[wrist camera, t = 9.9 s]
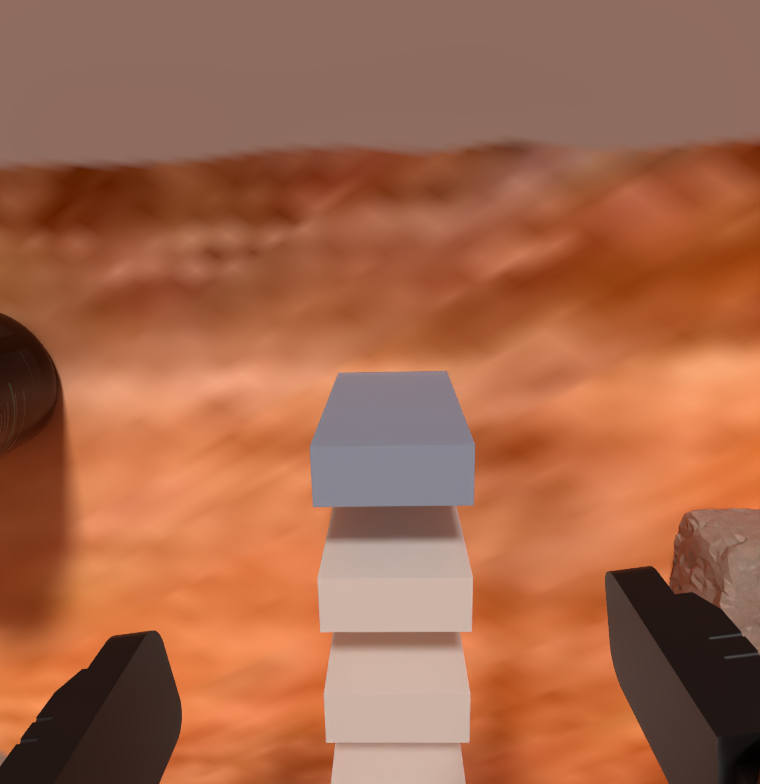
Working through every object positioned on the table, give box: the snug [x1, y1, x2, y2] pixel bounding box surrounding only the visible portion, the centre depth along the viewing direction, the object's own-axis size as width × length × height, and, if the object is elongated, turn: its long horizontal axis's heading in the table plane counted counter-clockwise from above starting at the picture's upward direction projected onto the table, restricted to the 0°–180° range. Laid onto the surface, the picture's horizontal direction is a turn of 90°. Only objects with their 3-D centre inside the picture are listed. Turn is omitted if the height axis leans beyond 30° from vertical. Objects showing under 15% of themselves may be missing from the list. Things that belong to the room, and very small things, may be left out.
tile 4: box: [331, 743, 466, 784], centre depth 27 cm, size 5×2×10 cm, turn 91°
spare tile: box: [310, 371, 475, 507], centre depth 23 cm, size 5×2×10 cm, turn 91°
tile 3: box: [324, 632, 470, 743], centre depth 26 cm, size 5×2×10 cm, turn 91°
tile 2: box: [318, 506, 473, 632], centre depth 24 cm, size 5×2×10 cm, turn 91°
